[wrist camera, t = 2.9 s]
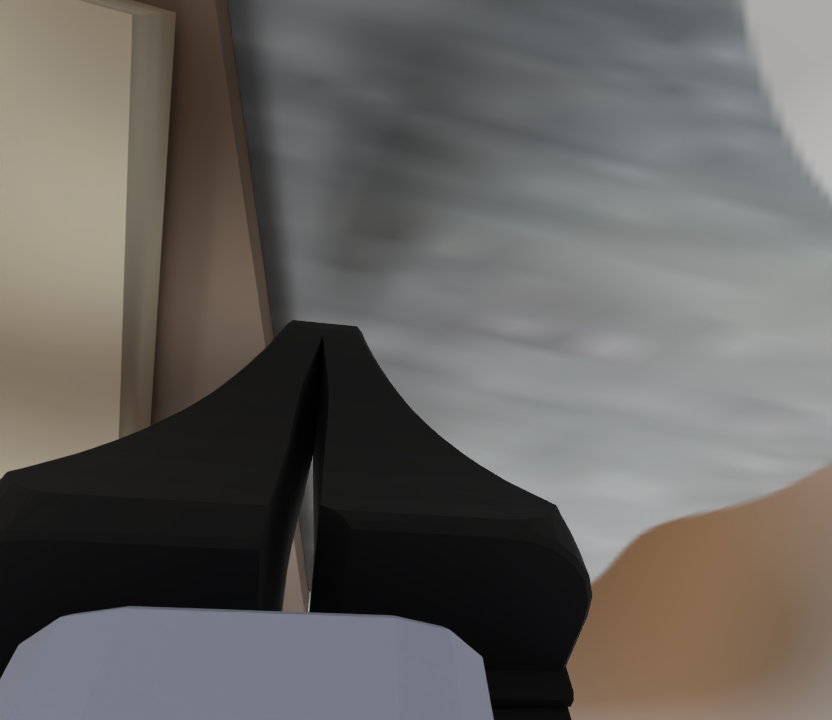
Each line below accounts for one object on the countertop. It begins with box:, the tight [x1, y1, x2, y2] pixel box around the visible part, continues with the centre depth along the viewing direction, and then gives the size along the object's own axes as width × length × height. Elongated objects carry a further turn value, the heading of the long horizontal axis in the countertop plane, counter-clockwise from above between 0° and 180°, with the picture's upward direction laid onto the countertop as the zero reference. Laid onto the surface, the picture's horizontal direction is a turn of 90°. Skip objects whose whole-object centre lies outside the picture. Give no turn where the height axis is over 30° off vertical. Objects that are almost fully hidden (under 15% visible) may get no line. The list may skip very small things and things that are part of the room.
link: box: [0, 0, 176, 479], centre depth 11 cm, size 14×4×2 cm, turn 165°
